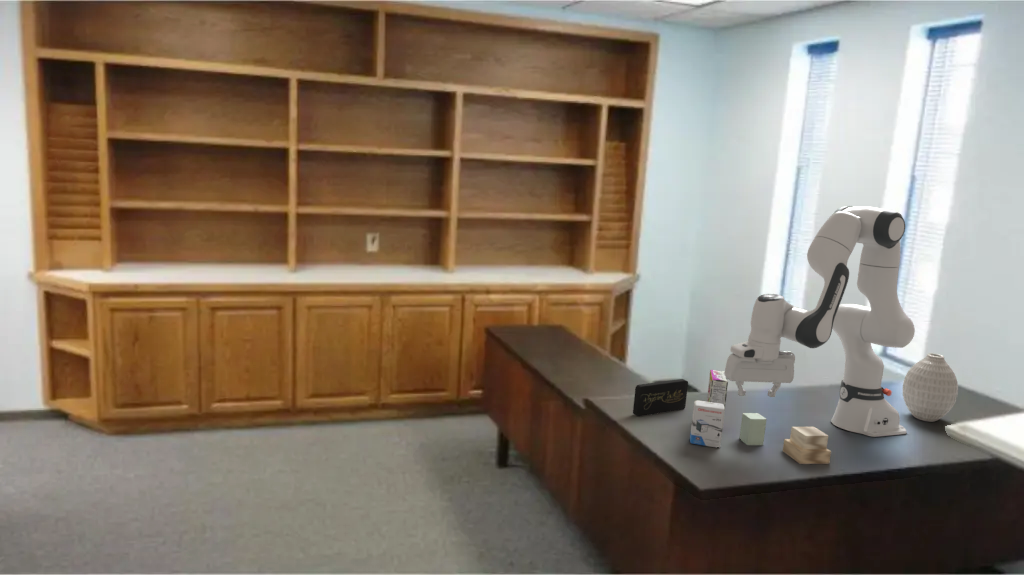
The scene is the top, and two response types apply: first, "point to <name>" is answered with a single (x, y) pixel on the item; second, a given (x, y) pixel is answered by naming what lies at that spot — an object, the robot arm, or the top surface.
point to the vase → (930, 388)
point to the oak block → (806, 454)
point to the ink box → (707, 423)
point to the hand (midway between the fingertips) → (756, 396)
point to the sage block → (752, 428)
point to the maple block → (809, 438)
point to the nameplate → (660, 397)
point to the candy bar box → (717, 387)
